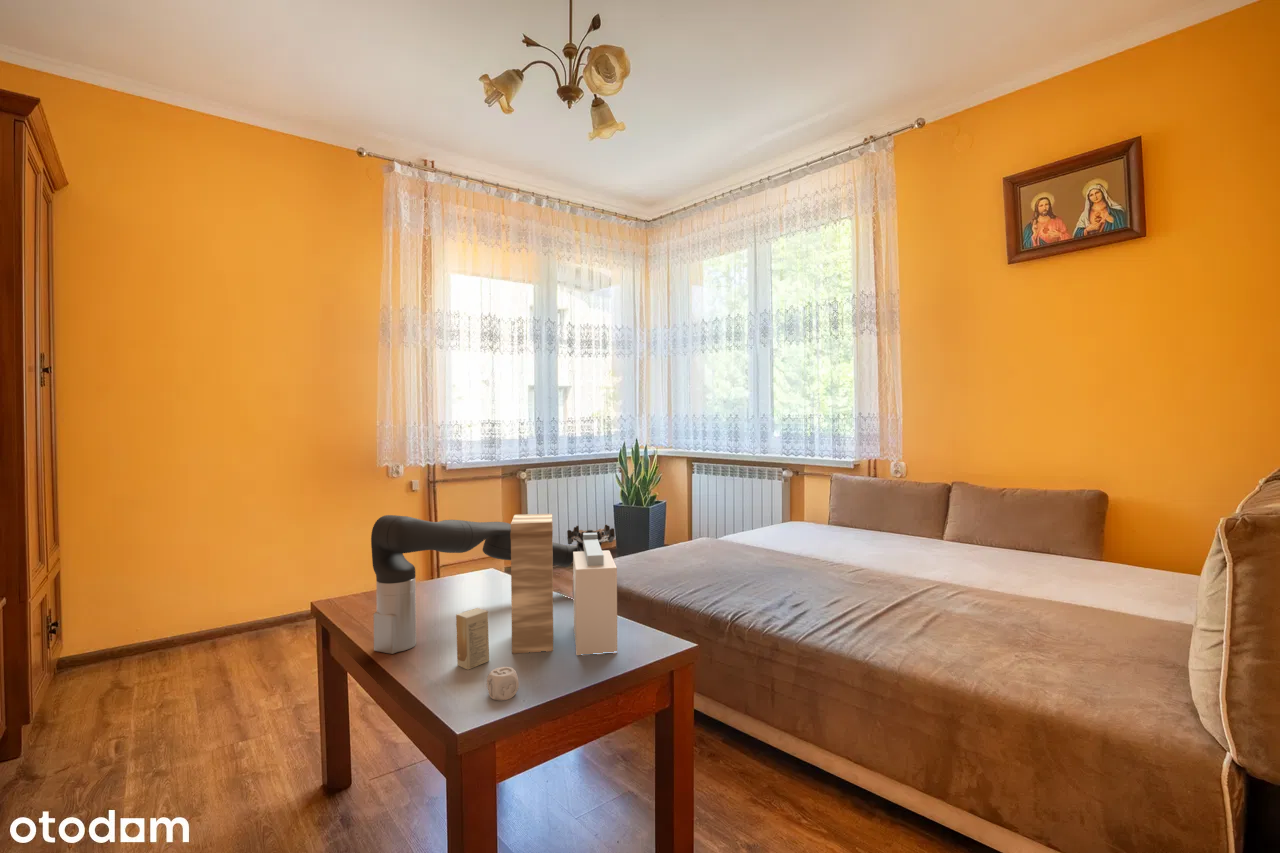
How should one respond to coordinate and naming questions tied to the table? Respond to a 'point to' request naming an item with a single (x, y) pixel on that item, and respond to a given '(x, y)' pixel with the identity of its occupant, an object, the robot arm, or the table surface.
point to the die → (502, 683)
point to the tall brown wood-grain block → (532, 583)
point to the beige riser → (595, 604)
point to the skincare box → (472, 638)
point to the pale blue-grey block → (592, 549)
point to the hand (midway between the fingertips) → (592, 528)
